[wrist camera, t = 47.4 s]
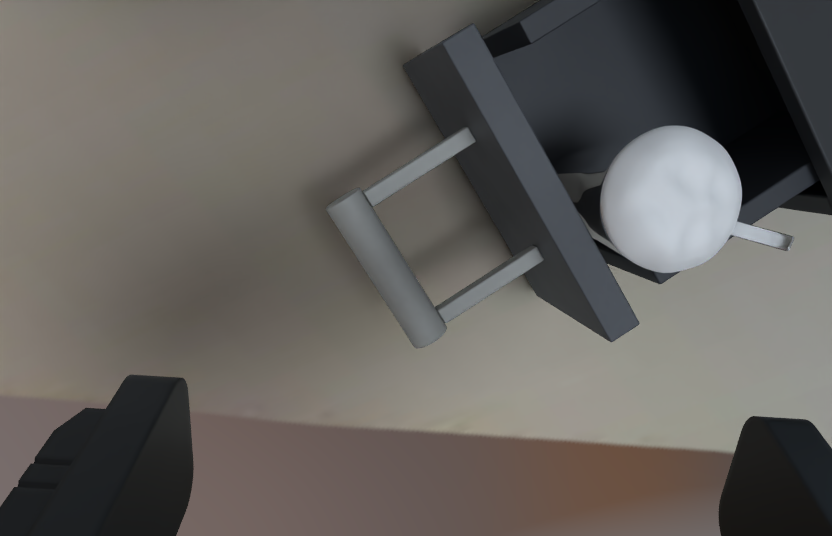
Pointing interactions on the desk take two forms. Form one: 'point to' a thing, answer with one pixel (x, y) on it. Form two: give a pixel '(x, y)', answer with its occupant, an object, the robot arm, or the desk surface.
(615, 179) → the milkshake
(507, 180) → the drawer
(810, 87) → the small filing cabinet
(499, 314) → the desk surface
